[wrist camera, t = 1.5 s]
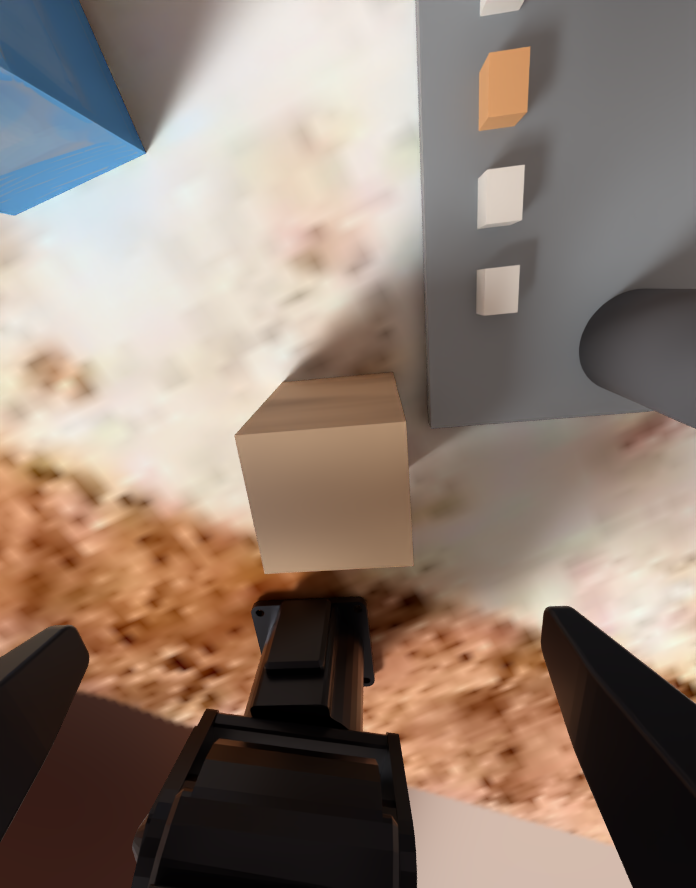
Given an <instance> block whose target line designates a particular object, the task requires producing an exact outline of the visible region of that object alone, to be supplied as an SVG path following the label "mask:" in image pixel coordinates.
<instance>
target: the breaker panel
mask: <svg viewBox="0 0 696 888" xmlns="http://www.w3.org/2000/svg"><path fill="white" fill-rule="evenodd" d="M415 3H416V35H417V66H418V98H419V130H420V162H421V194H422V226H423V258H424V289H425V321H426V353H427V385H428V417H429V425H430V427H431V429H434V428H446V427H459V426H471V425H484V424H497V423H509V422H522V421H535V420H547V419H560V418H572V417H585V416H598V415H610V414H623V413H636V412H648V411H654V410H652V409H649V408H647V407H645V406H643V405H640V404H638V403H636V402H633V401H631V400H629V399H627V398H624V397H622V396H620V395H618V394H615V393H613V392H611V391H608V390H606V389H604V388H602V387H599V386H598V385H596V384H594V383H593V382H592V381H591V380H590V379H589V378H588V377H587V376H586V374H585V373H584V371H583V369H582V367H581V363H580V359H579V345H580V340H581V336H582V333H583V331H584V329H585V327H586V325H587V323H588V321H589V320H590V318H591V317H592V316H593V314H594V313H595V312H596V311H597V310H598V309H599V308H600V307H601V306H602V305H603V304H605V303H606V302H607V301H609V300H610V299H612V298H614V297H615V296H617V295H619V294H622V293H624V292H627V291H630V290H635V289H646V288H648V289H696V0H415Z"/></svg>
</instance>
